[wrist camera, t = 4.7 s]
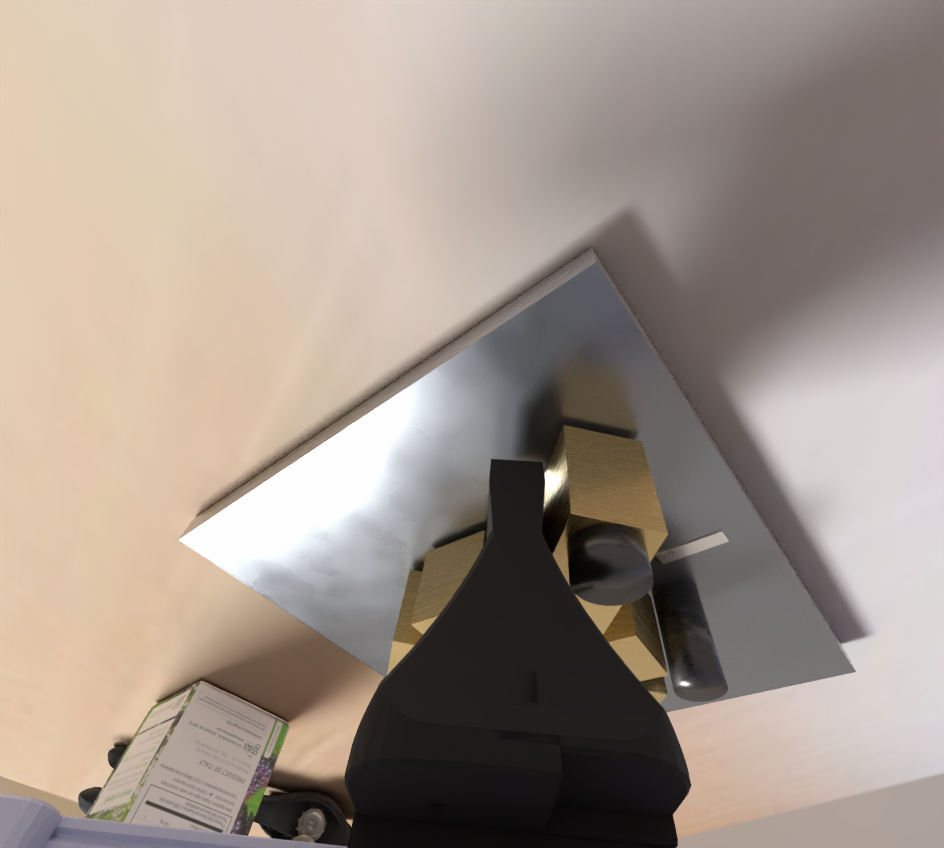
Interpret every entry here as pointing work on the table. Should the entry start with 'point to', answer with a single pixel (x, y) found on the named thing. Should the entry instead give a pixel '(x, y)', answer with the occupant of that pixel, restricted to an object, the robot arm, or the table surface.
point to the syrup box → (195, 764)
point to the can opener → (276, 813)
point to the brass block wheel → (575, 551)
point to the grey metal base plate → (534, 439)
